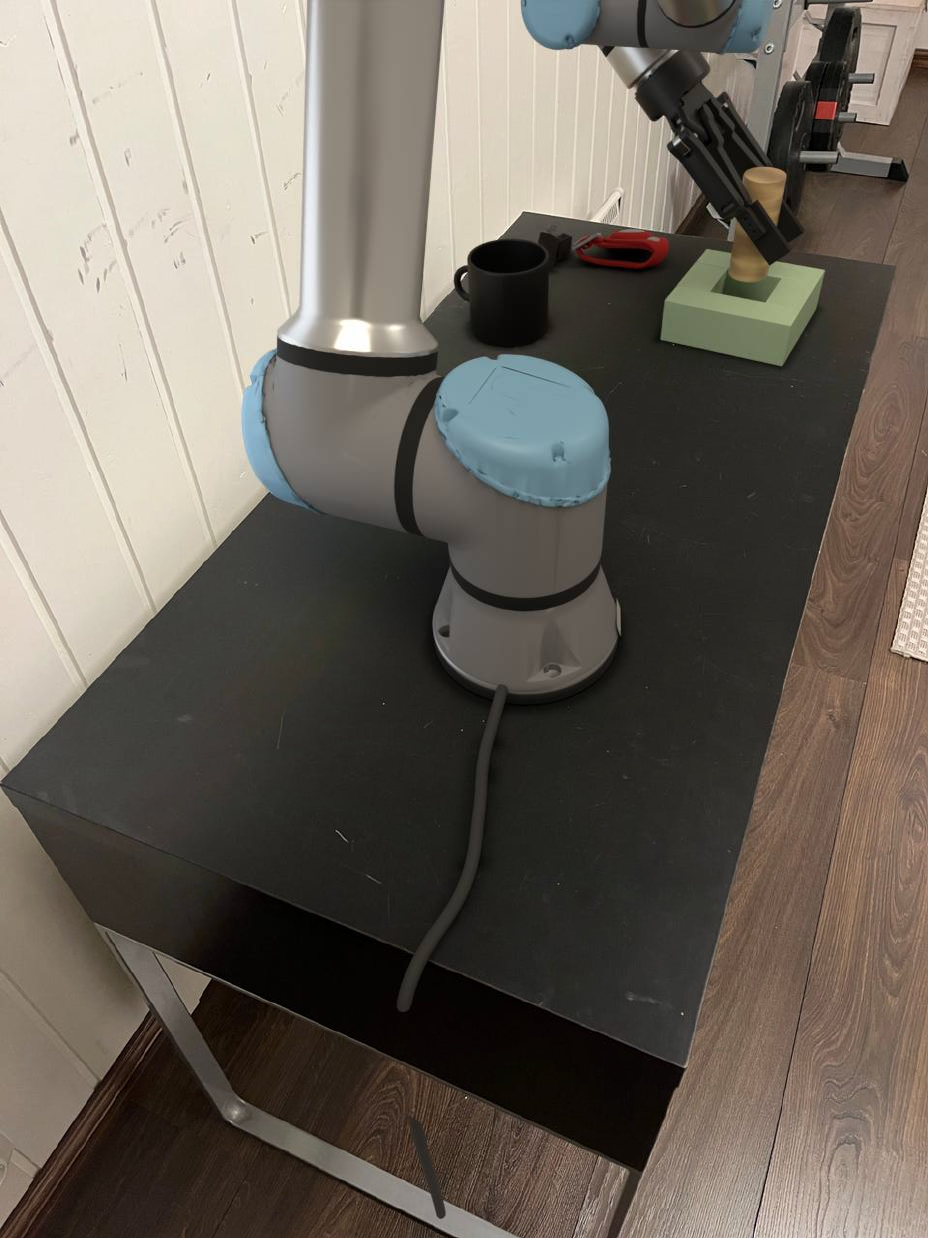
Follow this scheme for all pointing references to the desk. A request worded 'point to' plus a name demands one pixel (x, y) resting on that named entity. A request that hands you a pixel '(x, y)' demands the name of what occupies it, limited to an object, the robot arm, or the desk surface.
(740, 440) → the desk surface
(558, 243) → the lighter
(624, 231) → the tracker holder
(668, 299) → the holder
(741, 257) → the tan cylinder
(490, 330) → the mug
